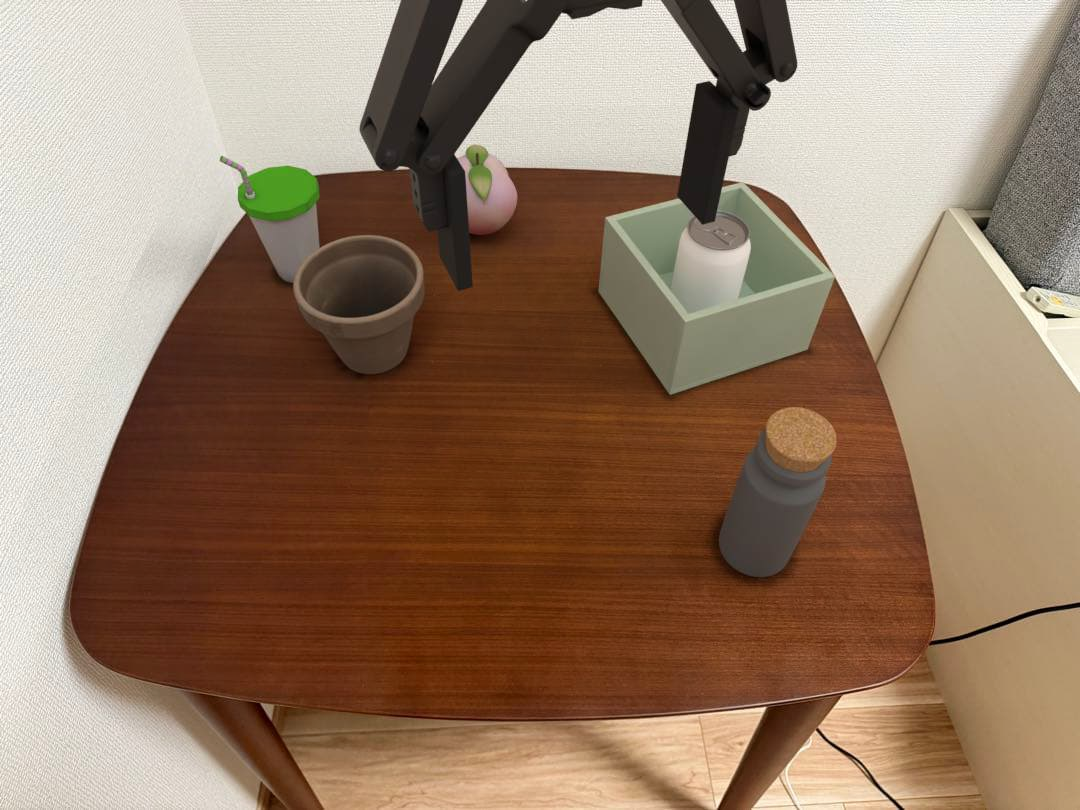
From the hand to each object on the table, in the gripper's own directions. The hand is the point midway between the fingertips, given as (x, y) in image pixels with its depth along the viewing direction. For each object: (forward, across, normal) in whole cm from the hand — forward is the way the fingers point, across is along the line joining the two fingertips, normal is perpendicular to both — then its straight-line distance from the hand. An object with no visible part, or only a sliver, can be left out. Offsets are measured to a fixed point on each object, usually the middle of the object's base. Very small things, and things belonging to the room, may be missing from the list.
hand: (580, 239), depth 42 cm
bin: (+31, -24, -19) cm, 44 cm away
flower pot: (+32, +8, -27) cm, 42 cm away
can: (+31, -23, -18) cm, 43 cm away
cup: (+32, +12, -42) cm, 54 cm away
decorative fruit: (+32, -8, -41) cm, 52 cm away
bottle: (+32, -15, +6) cm, 35 cm away
